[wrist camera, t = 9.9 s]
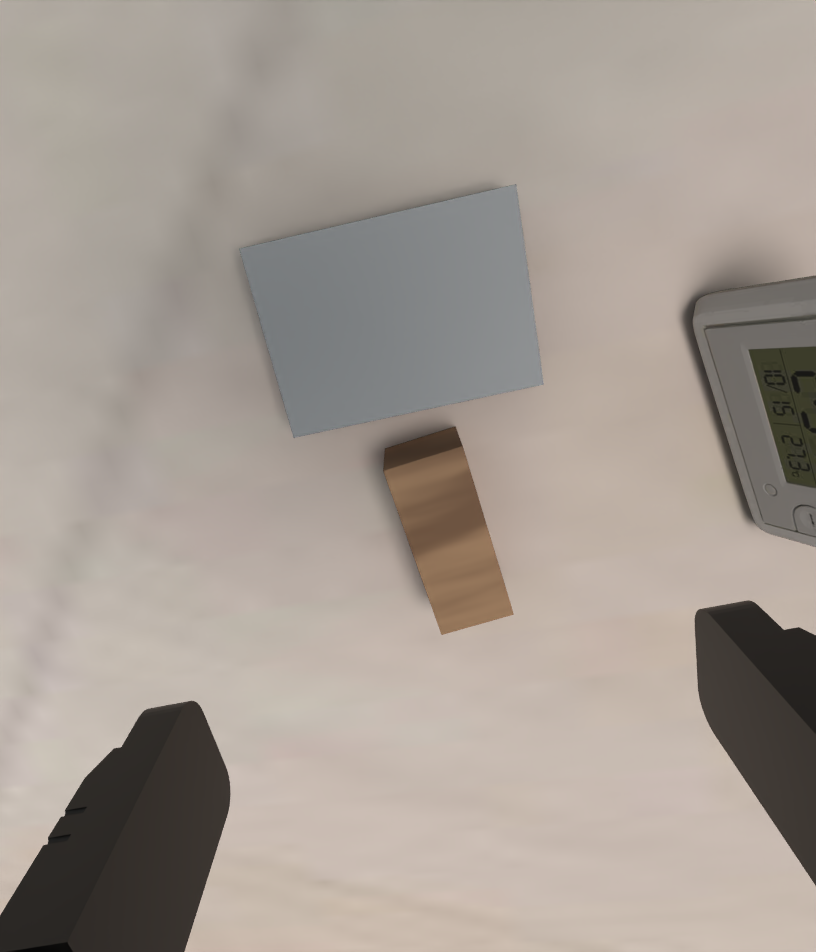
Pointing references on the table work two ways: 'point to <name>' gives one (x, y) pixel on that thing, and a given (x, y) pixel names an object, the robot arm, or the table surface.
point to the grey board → (398, 311)
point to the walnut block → (446, 530)
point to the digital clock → (767, 396)
